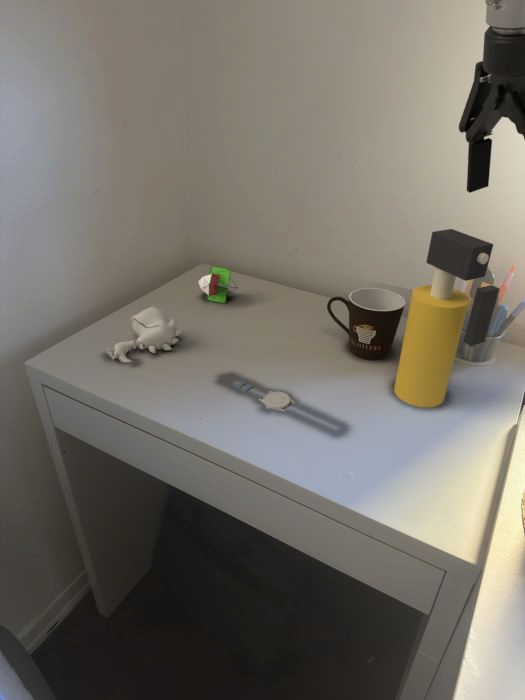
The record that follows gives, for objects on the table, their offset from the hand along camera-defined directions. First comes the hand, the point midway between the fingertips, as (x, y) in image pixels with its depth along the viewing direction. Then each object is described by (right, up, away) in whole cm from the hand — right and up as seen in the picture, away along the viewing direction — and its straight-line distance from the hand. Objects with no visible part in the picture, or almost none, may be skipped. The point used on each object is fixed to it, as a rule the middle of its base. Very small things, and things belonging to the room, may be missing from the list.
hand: (505, 211), depth 63 cm
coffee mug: (-14, -18, +20) cm, 31 cm away
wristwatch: (-29, -25, +6) cm, 39 cm away
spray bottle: (-8, -24, +9) cm, 27 cm away
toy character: (-50, -18, +18) cm, 56 cm away
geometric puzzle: (-40, -8, +37) cm, 54 cm away
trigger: (-5, -17, -2) cm, 17 cm away
